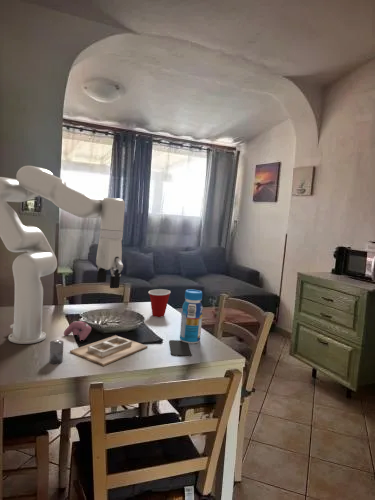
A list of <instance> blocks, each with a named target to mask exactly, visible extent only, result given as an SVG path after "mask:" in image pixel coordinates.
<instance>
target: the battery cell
mask: <svg viewBox="0 0 375 500" xmlns="http://www.w3.org/2000/svg"><path fill="white" fill-rule="evenodd" d="M63 357H64V341H63V340H60V339H54V340H52V341H50V342H49V357H48V358H49V360H48V361H49V362H48V363H50V365H60V364H62V363H63V361H64V360H63V359H64V358H63Z"/></svg>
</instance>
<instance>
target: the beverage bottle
mask: <svg viewBox="0 0 375 500" xmlns="http://www.w3.org/2000/svg"><path fill="white" fill-rule="evenodd" d="M184 292H185V293H184V299H185V300H184V302H183V303H182V306H181V309H182V311H181V312H180V313H181V314H180V316H181V317H180V330H179V331H180V333H179V340H180V341H183V342H186V343H188V344H197V343H199V342H200V341H201V336H202V335H201V330H202V323H203V322H202V321H203V317H204V316H203V310H204V309H203V308H204V306H203V305H202V302H201V301H202V300H203V291H202V290H198V289H192V288H191V289H186V290H185V291H184Z"/></svg>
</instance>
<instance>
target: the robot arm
mask: <svg viewBox="0 0 375 500" xmlns="http://www.w3.org/2000/svg"><path fill="white" fill-rule="evenodd" d="M15 177H16V178H10V177H4V176H0V239H1V241H2V243H3V244H4V246H5V248H6V249H7V250H8V251H9V252H11V253H22V254H19V255H18V256H16V258H14V260H13V262H12V275H13V281H14V302H13V303H14V305H13V323H12V324H10V325H9V328H10V329H12V333H10V334H9V335H8V341H9V342H10V343H13V344H20V345H28V344H37V343H39V342H42V341H44V340H45V339H46V338H47V333H46V332H44V331H42V329H43V307H44V306H43V305H44V303H43V302H44V287H43V283H42V280H41V277H46V276H49V275H51V274H53V273H55V271H57V267H58V259H57V257H56V254H55V252H54V250H53V248H52V247H51V245H50V243H49V241H48V239H47V237H46V236H45V234H44V232H43V231H42V229H40V228H38V227H37V226H33V225H24V224H23V222H22V221H21V219H20V218H19V215H18V213H17V212H16V211H15V209H14V208H13V207H11V205H10V204H9V202H11V203H23V202H27V201H29V200H31V199H34V198H36V197H39V196H40V197H41V198H44V199H45V200H48V201H49V202H52V204H54V205H55V206H56V207H57V208H59V209H60V210H63V211H64V212H67V213H69V214H71V215H73V216H76V217H78V218H83V219H85V218H86V219H99V218H100V231H99V239H98V245H97V251H96V259H95V260H96V261H95V264H96V266H97V268H96V269H97V273H96V274H97V276H96V282H97V283H105V282H107V273H108V272H107V271H109V270H110V274H111V276H110V280H109V281H110V282H109V289H119V288H120V282H121V281H120V280H121V276H122V273H123V268H124V264H123V262H122V257H123V256H122V255H123V249H122V248H123V246H122V244H123V243H122V241H123V236H124V235H123V234H124V223H125V209H126V204H125V203H126V202H125V200H124V199H122V198H116V197H102V196H99V195H98V196H97V195H90V194H84V193H81V192H80V191H77V190H74V189H72V188H70V187H68V186H67V182H66V181H65V180H64V179H63V178H61V177H59V176H56V175H54V174H53V172H51V171H50V170H48V169H47V168H44V167H39V166H34V165H24V166H22V167H20V168H19V169H18V171H17V172H16V175H15Z"/></svg>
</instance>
